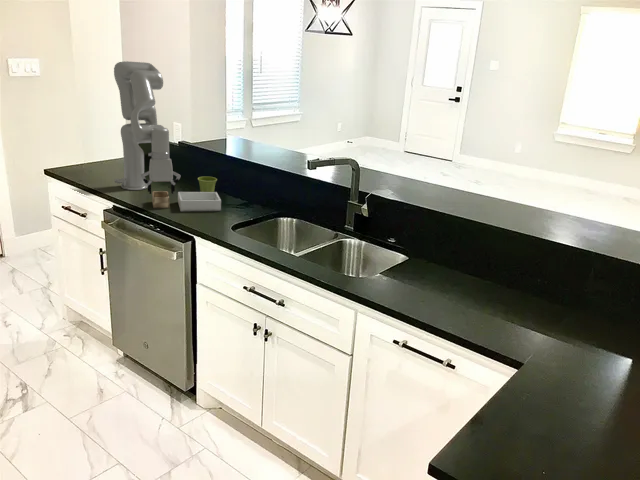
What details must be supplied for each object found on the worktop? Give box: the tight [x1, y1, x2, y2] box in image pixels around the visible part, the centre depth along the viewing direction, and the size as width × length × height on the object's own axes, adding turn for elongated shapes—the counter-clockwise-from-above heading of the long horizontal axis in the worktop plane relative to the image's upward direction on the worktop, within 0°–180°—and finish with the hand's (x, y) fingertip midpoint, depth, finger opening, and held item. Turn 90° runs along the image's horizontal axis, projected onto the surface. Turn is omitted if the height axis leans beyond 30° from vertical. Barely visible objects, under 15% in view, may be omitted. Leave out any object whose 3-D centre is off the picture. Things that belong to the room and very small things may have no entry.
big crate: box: [177, 191, 222, 212], centre depth 252 cm, size 18×14×5 cm
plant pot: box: [197, 176, 218, 192], centre depth 269 cm, size 9×9×9 cm
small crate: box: [151, 190, 170, 209], centre depth 249 cm, size 7×10×5 cm
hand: (161, 193), depth 247 cm, fingers open, 9 cm apart
